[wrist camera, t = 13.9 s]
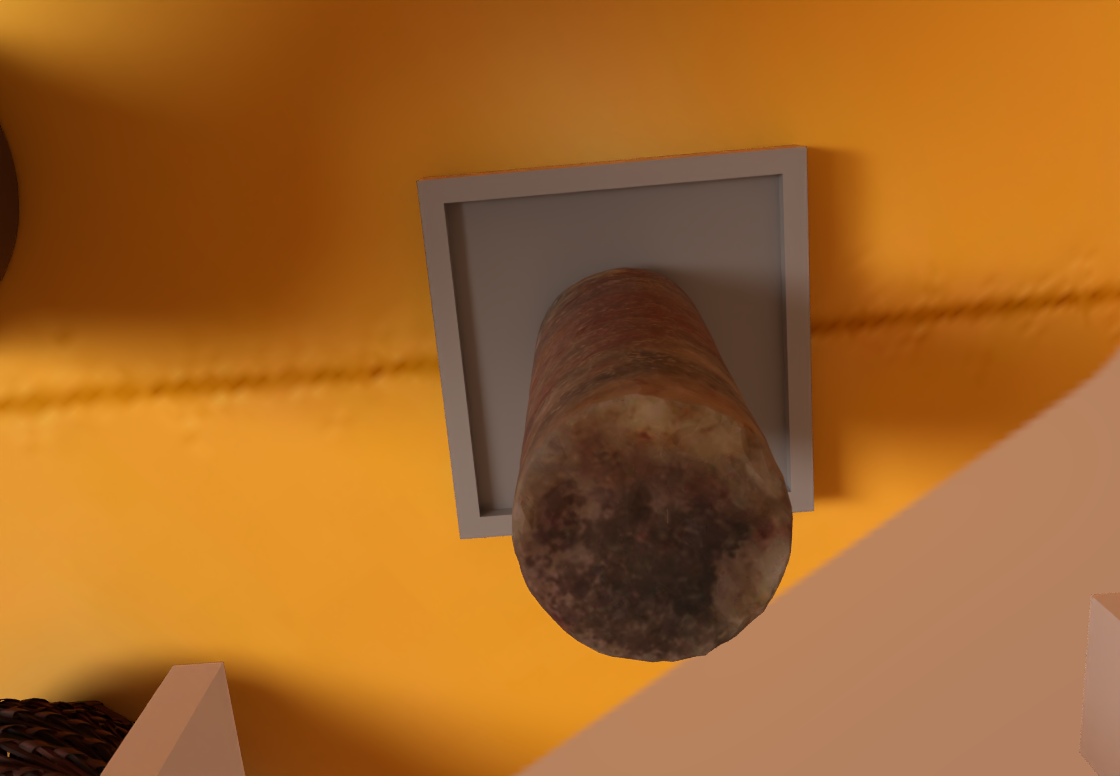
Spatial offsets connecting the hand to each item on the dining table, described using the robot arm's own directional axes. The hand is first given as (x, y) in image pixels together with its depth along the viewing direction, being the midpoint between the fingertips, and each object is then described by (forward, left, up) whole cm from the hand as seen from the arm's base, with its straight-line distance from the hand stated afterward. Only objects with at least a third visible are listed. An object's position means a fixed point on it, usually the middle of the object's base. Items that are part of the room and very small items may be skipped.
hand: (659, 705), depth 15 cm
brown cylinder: (+1, -1, -30) cm, 30 cm away
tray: (+1, -1, -31) cm, 31 cm away
